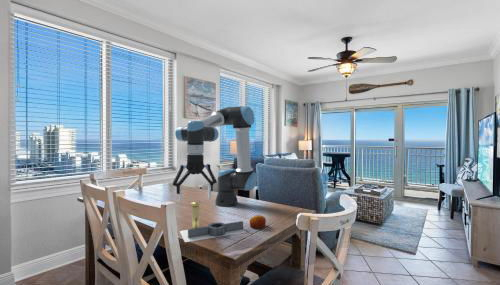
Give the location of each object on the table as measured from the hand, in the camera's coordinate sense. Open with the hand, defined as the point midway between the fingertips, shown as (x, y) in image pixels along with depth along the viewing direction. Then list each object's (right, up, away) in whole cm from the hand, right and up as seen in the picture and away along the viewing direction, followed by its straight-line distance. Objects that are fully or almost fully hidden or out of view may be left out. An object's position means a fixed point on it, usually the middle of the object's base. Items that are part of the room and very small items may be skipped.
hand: (195, 199), depth 119 cm
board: (+9, -16, -1) cm, 18 cm away
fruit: (+30, -16, +6) cm, 34 cm away
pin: (0, -14, 0) cm, 14 cm away
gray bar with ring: (+10, -15, -3) cm, 18 cm away
